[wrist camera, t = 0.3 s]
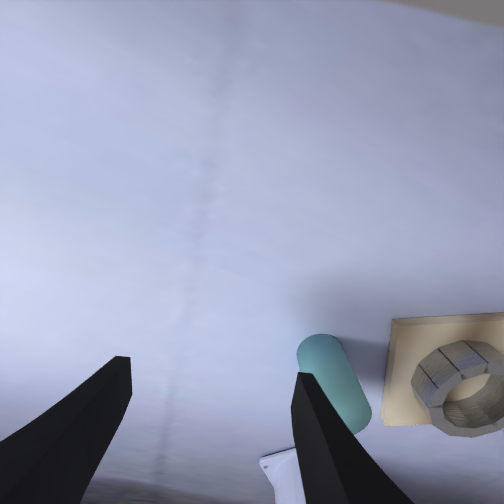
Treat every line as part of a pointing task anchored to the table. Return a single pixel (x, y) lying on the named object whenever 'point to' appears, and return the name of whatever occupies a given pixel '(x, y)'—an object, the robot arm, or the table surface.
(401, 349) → the dock plate
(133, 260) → the table surface
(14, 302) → the table surface
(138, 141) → the table surface
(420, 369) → the socket collar
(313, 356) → the teal cylinder
